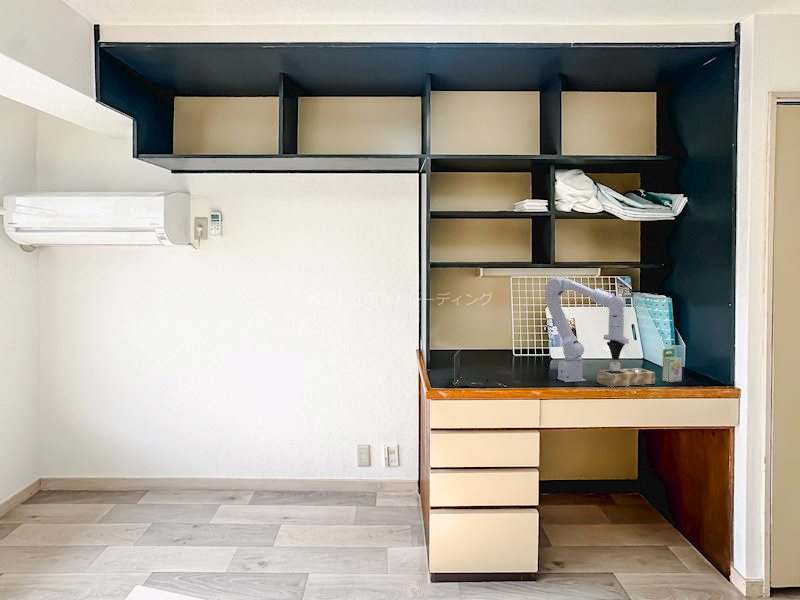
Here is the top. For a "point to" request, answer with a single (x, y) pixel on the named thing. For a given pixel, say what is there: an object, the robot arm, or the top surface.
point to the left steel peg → (615, 367)
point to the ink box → (671, 367)
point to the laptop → (456, 366)
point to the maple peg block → (625, 377)
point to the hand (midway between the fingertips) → (615, 359)
